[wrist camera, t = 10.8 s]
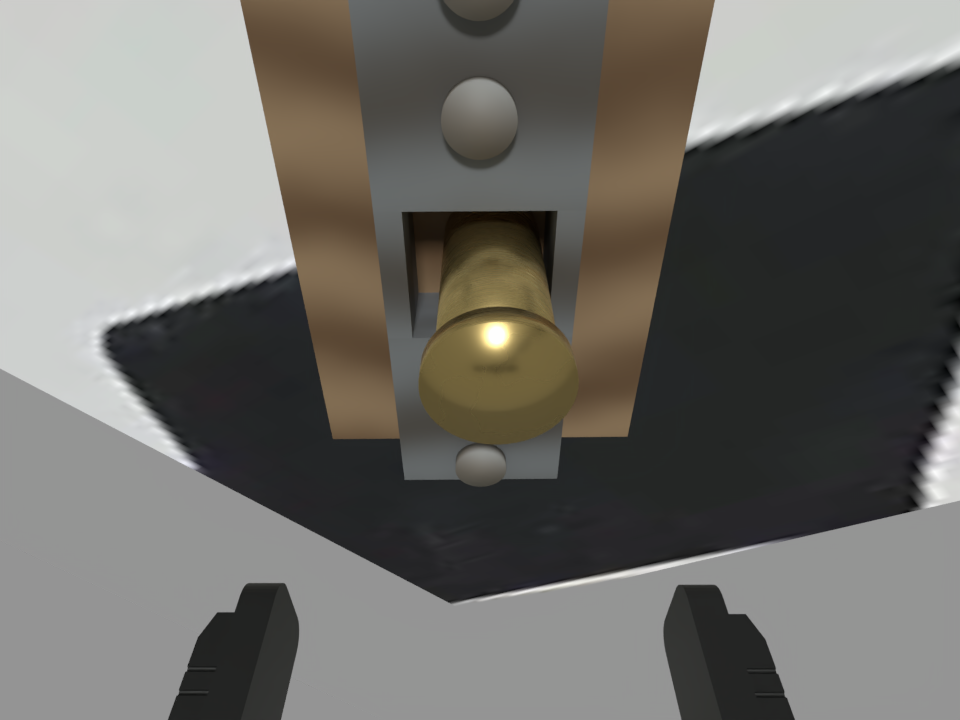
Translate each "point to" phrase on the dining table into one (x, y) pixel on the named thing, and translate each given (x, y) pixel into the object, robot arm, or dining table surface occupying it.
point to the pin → (496, 334)
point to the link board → (347, 211)
